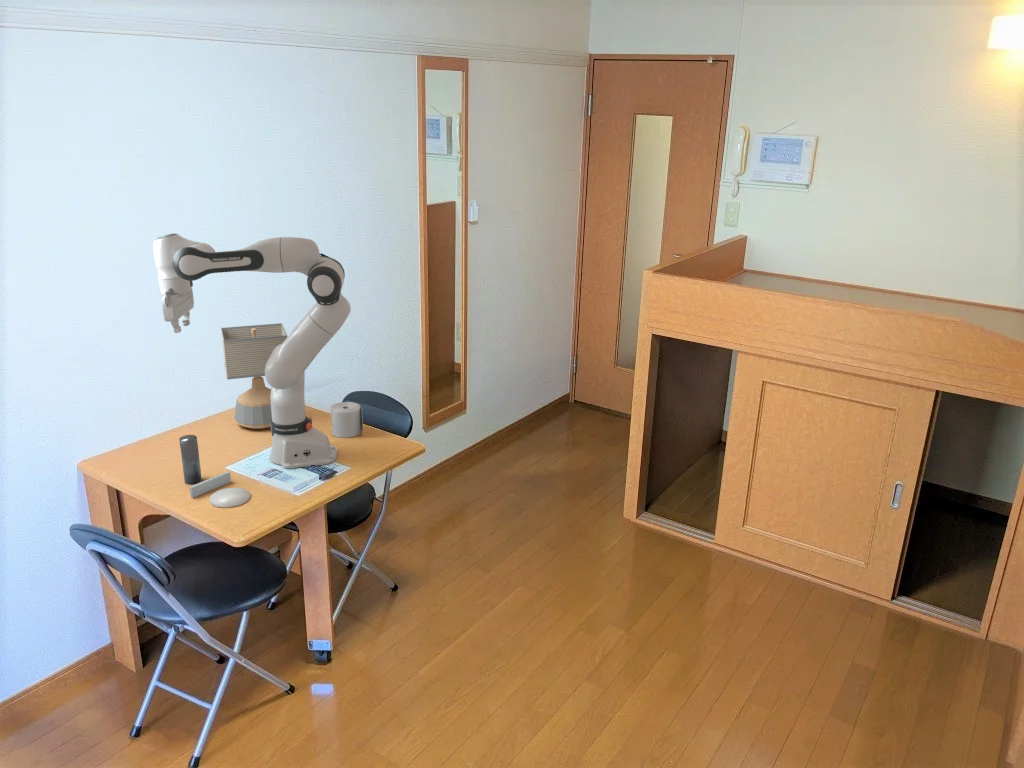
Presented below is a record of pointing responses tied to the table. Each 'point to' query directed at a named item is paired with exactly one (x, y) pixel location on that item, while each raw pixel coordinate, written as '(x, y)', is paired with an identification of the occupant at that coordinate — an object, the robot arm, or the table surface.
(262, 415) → the desk lamp
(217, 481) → the acrylic wall
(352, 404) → the toilet tissue
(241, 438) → the table surface
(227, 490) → the resting pad
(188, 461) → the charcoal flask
